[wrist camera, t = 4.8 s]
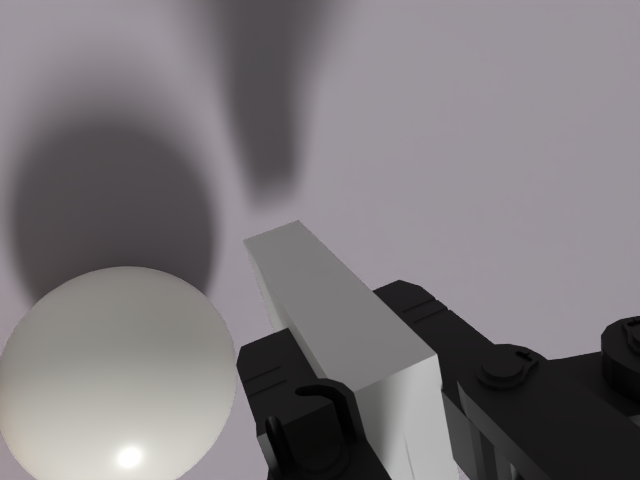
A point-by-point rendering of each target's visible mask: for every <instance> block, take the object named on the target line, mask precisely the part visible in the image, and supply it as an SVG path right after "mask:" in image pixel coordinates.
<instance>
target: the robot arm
mask: <svg viewBox="0 0 640 480" xmlns="http://www.w3.org/2000/svg"><path fill="white" fill-rule="evenodd" d="M243 242H244V245H245V248H246V251H247V254H248V257H249V260H250V262H251V265H252V268H253V271H254V274H255V277H256V280H257V283H258V286H259V289H260V292H261V295H262V298H263V301H264V304H265V307H266V310H267V313H268V316H269V319H270V322H271V325H272V328H273V330H274V332H275V333H273V334H271V335H268V336H266V337H264V338H261V339H259V340H256V341H254V342H251V343H249V344H247V345H244V346H242V347H241V349H240V352H239V356H238V360H237V363H236V367H237V370H238V373H239V376H240V379H241V382H242V384H243V387H244V390H245V393H246V396H247V399H248V402H249V405H250V408H251V411H252V414H253V416H254V419H255V422H256V433H257V439H258V442H259V444H260V447H261V449H262V452H263V454H264V457H265V459H266V462H267V464H268V467H269V470H268V478H267V480H459V474H458V468H457V464H458V465H459V467H460V468H461V469H462V470H463V472H464V473H465V474H466V475H467V477H468V478H469V479H470V480H640V316H635V317H630V318H625V319H620V320H618V321H616V322H614V323H613V324H611V325H609V326H607V328H606V329H605V331H604V332H603V334H602V335H601V351H600V352H595V353H589V354H584V355H579V356H573V357H568V358H563V359H554V360H547V359H546V358H545V357H543V356H542V355H540V354H538V353H536V352H534V351H532V350H530V349H528V348H526V347H522V346H517V345H512V344H495V345H494V344H493V343H492V342H491V341H489V340H488V339H487V338H486V337H484V336H483V335H482V334H480V333H479V332H478V331H477V330H475V329H474V328H473V327H472V326H470V325H469V324H468V323H466V322H465V321H464V320H463V319H461V318H460V317H459V316H458V315H456V314H455V313H454V312H453V311H451V310H448V309H447V307H446V306H445V305H444V304H442V303H441V302H440V301H439V300H436V299H435V297H434V296H432V295H431V294H430V293H428V292H427V291H426V290H425V289H423V288H422V287H421V286H418V285H415V284H412V283H408V282H405V281H402V280H397V281H395V282H393V283H390V284H388V285H385V286H383V287H380V288H378V289H376V290H373V291H371V290H370V289H369V288H368V287H367V286H366V285H365V284H364V283H363V282H362V281H361V280H360V279H359V278H358V277H357V276H356V275H355V274H354V273H353V272H352V271H351V270H350V269H349V268H348V267H347V266H346V265H344V264H343V263H342V262H341V261H340V260H339V259H338V258H337V257H336V256H335V255H334V254H333V253H332V252H331V251H330V250H329V249H328V248H327V247H326V246H325V245H324V244H323V243H322V242H321V241H320V240H319V239H318V238H317V237H316V236H314V235H313V234H312V233H311V232H310V231H309V230H308V229H307V228H306V227H305V226H304V225H303V224H302V223H301V222H300V221H299V220H298V221H295V222H292V223H289V224H287V225H284V226H281V227H278V228H276V229H273V230H270V231H267V232H265V233H262V234H259V235H256V236H254V237H251V238H248V239H245V240H243Z"/></svg>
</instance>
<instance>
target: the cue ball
mask: <svg viewBox="0 0 640 480" xmlns="http://www.w3.org/2000/svg"><path fill="white" fill-rule="evenodd" d="M236 363H237V357H236V351H235V347H234V343H233V340H232V337H231V334H230V332H229V329H228V327H227V325H226V323H225V321H224V319H223V317H222V316H221V314H220V313H219V312H218V310H217V309H216V307H215V306H214V305H213V304H212V302H211V301H210V300H209V299H208V298H207V297H206V296H204V295H203V294H202V293H201V292H200V291H199V290H198V289H196V288H195V287H193V286H192V285H191V284H189V283H187V282H186V281H184V280H182V279H180V278H178V277H176V276H174V275H171V274H169V273H166V272H163V271H159V270H155V269H150V268H145V267H134V266H121V267H111V268H105V269H100V270H96V271H92V272H88V273H86V274H83V275H80V276H78V277H76V278H73V279H71V280H69V281H67V282H65V283H63V284H62V285H60V286H59V287H57V288H55V289H54V290H52V291H50V292H49V293H48V294H46V295H45V296H44V297H43V298H41V299H40V300H39V301H38V302H37V303H36V304H35V305H34V306H33V307H32V308H31V309H30V310H29V311H28V312H27V313H26V314H25V315H24V317H23V318H22V319H21V321H20V322H19V323H18V325H17V326H16V327H15V329H14V331H13V332H12V334H11V336H10V337H9V339H8V341H7V344H6V346H5V348H4V350H3V353H2V356H1V359H0V430H1V433H2V436H3V438H4V440H5V442H6V444H7V446H8V448H9V449H10V451H11V453H12V455H13V456H14V457H15V459H16V460H17V461H18V462H19V463H20V465H21V466H22V467H23V468H24V469H25V470H26V471H27V472H28V473H29V474H31V475H32V476H33V477H34V478H35V479H37V480H176V479H177V478H179V477H180V476H182V475H183V474H184V473H186V472H187V471H188V470H190V469H191V468H192V467H193V466H194V465H195V464H196V463H198V461H199V460H200V459H201V458H202V457H203V456H204V455H205V454H206V453H207V451H208V450H209V449H210V448H211V447H212V445H213V444H214V443H215V441H216V440H217V438H218V436H219V434H220V433H221V431H222V429H223V428H224V426H225V424H226V422H227V419H228V417H229V414H230V412H231V409H232V405H233V402H234V398H235V393H236V386H237V367H236Z"/></svg>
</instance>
